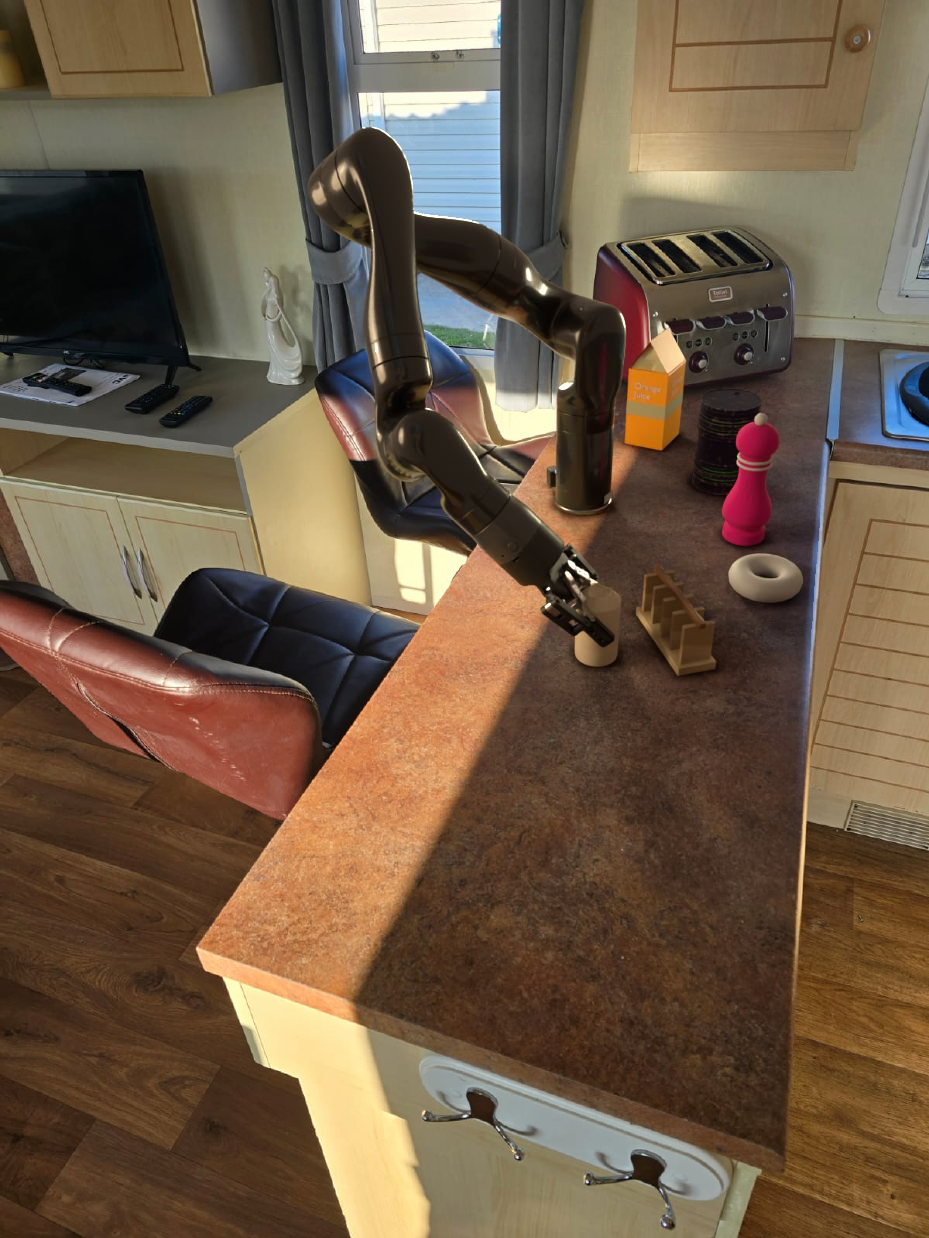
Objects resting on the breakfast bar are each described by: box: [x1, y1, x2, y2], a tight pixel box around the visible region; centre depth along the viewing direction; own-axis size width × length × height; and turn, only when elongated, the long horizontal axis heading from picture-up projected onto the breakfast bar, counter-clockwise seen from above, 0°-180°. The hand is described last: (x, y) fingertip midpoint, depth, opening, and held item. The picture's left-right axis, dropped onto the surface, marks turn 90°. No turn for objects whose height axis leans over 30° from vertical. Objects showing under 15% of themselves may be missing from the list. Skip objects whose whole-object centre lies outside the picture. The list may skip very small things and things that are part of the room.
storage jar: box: [691, 387, 763, 496], centre depth 143 cm, size 10×10×15 cm
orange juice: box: [624, 327, 687, 451], centre depth 158 cm, size 8×9×20 cm
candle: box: [574, 582, 622, 668], centre depth 107 cm, size 6×6×10 cm
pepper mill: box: [721, 412, 781, 547], centre depth 127 cm, size 7×7×20 cm
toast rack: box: [635, 564, 717, 677], centre depth 110 cm, size 14×5×8 cm, turn 12°
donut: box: [727, 553, 804, 604], centre depth 120 cm, size 10×4×10 cm
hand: (611, 627), depth 107 cm, fingers closed on candle, 5 cm apart
